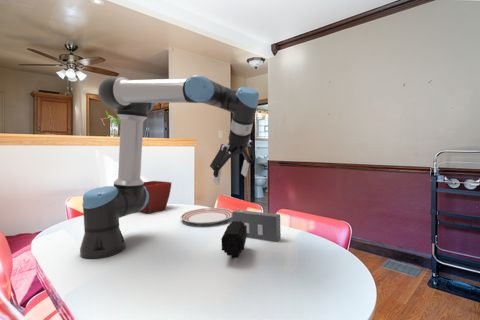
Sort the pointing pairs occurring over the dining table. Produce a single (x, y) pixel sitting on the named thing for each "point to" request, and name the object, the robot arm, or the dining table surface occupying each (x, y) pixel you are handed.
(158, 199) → the plant pot
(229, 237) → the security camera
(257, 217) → the charging block
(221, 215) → the dinner plate
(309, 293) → the dining table surface
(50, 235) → the dining table surface
